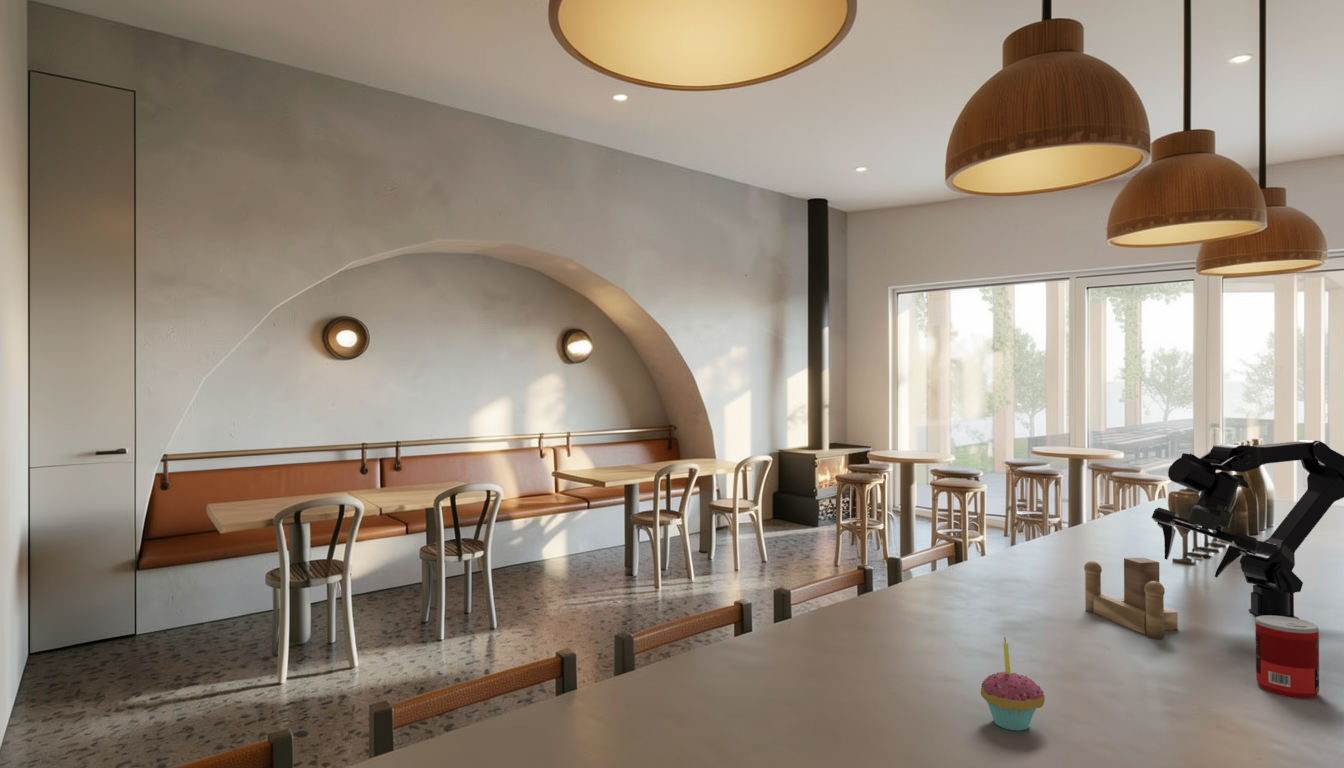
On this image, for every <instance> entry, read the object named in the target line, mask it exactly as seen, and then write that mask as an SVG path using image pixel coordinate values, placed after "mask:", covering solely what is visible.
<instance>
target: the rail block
mask: <svg viewBox="0 0 1344 768" xmlns="http://www.w3.org/2000/svg"><path fill="white" fill-rule="evenodd" d="M1150 581H1156V582H1159V583H1160V561H1156V560H1153V559H1150V558H1147V557H1124V558H1123V598H1124V603H1126V604H1129V605H1131V606H1134V607H1137V608H1139V609H1142V610H1145V611H1146V593H1145V590H1144V587H1145V585H1146V584H1147V583H1148V582H1150Z"/></svg>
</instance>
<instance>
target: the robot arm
mask: <svg viewBox="0 0 1344 768" xmlns="http://www.w3.org/2000/svg"><path fill="white" fill-rule="evenodd" d="M1293 461H1300V462H1301V466H1302V468H1303V469H1304V470H1305V471H1306V472H1308V473H1309V474H1308V475H1307V477H1306V482H1307V483H1306V484H1307V489H1306V490H1305V492H1304V493H1303V495H1302V496H1301V497H1300V499H1299V500H1298V501H1297V502H1296V504H1295V505H1294V506H1293V507H1292V509H1291V510H1290V511H1289V513H1288V514H1287V515H1286V516H1285V517H1284V519H1283V520H1282V521H1281V523H1280V524H1279V525H1278V527H1277V528H1276V529H1275V530H1274V532H1273V533H1272V534H1271V535H1270V536H1269V538H1267V539H1265V540H1258V539H1257V537H1253V536H1251V535H1248V534H1244V533H1241V532H1238V531H1236V532H1235V534H1232V533H1228V532H1225V531H1224V530H1223V529H1228V528H1230V526H1231V523H1232V520H1233V516H1234V513H1233V512H1230V510H1231V507H1232V504H1233V501H1234V499H1235V497H1236V494H1237V490H1238V488H1243V489H1244V488H1245V489H1248V488H1249V487H1250V485H1249V484H1248V482H1247V481H1246V480H1245V477H1244V475H1242V474H1236V473H1235V472H1237V473H1247V472H1250V471H1253V470H1256V469H1257V470H1258V468H1260V467H1261V466H1263V465H1267V464H1274V463H1275V464H1276V463H1283V462H1284V463H1285V462H1293ZM1168 467H1169V468H1168V470H1167V471H1168V472H1167V473H1168V478H1169V480H1170V481H1171V482H1173V483H1176V484H1178V485H1181V486H1183V487H1185V488H1187V489H1189V490H1192V491H1194V492H1197V493H1198V492H1200V494H1199V497H1198V499H1197V502H1196V504H1195V505H1193V506H1192V507H1191V510H1190V513H1189V515H1188V519H1185V518H1182V517H1179V515H1178V513H1177V512H1175V511H1171V510H1168V509H1165V508H1162V507H1156V508H1155V509H1154V510H1153V513H1152V515H1151V519H1152V520H1153V521H1154V522H1156V525H1157V526H1158V527H1159V528H1161V529H1162V533H1163V538H1164V560H1165V561H1168V560H1169V557H1170V555H1171V551H1172V548H1173V547H1172V546H1173V544H1174V540H1175V536H1176V531H1177V530H1176V529H1175V527H1176V526H1178V527H1181V528H1184V529H1187V530H1190V531H1192V532H1197V533H1199V534H1202V535H1205V536H1208V537H1211V538H1213V539H1217V540H1220V541H1223V542H1227V543H1229V544H1231V545H1228V547H1227V550H1226V551H1225V554H1224V555H1223V558H1222V559H1221V561H1220V563H1219V565H1218V567H1217V568H1216V571H1215V574H1214V578H1218V577H1219V576H1220V575H1222V573H1223V572H1224V571H1225V570H1226V569H1227V568H1228V567H1229V566H1230V564H1232V563H1233V562H1234V561H1235V560H1237V559H1238V558H1239V557H1240V556H1241V558H1240V560H1239V564H1240V569H1241V571H1242V573H1243V575H1244V577H1245V581H1246V583H1247V584H1252V591H1251V592H1250V608H1248V612H1249V613H1252V614H1254V615H1257V617H1258V616H1265V615H1272V616H1284V617H1291V618H1296V619H1300V618H1299V617H1297V616H1296V615H1295V604H1294V603H1295V601H1294V600H1295V597H1294V596H1295V595H1294V594H1295V593H1301V592H1302V589H1303V586H1304V585H1303V584H1304V582H1303V581H1302V580H1301V579H1300V577H1298V576H1297V574H1295V573H1294V571H1293V570H1294V568H1295V565H1296V564H1295V563H1296V562H1295V560H1296V559H1295V553H1296V551H1297V550H1298V548H1299V547H1300V546H1301V545H1302V543H1303V542H1304V541H1305V539H1306V538H1307V537H1308V536H1309V534H1311V532H1312V530H1313V529H1314V528H1315V527H1316V525H1317V524H1318V523H1319V522H1320V521H1321V519H1322V518H1323V517H1324V516H1325V514H1326V513H1327V511H1328V510H1329V509H1330V508H1331V506H1332V505H1333V504H1334V503H1335V502H1336V501H1339V500H1341V499H1344V455H1343V454H1342V453H1339V452H1338V451H1335V450H1334V449H1332V448H1330V447H1329V446H1328V445H1327V443H1324V442H1322V441H1320V440H1314V439H1313V440H1311V439H1299V440H1296V441H1288V442H1277V443H1276V442H1275V443H1268V444H1259V445H1258V444H1257V445H1243V444H1233V443H1232V444H1231V443H1216V444H1213V446H1212V447H1211V449H1210V450H1209V451H1208V452H1207V453H1205V454H1203V455H1202V456H1201V457H1197V456H1196V455H1194V454H1192V453H1189V452H1183V453H1182V455H1181V457H1178V458H1177V459H1175V460H1174V461H1173V463H1172V464H1170V465H1169V466H1168ZM1216 471H1218V472H1216ZM1228 472H1234V473H1235V474H1230V473H1228ZM1210 530H1211V531H1210ZM1212 531H1215V532H1212Z"/></svg>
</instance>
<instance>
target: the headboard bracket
mask: <svg viewBox="0 0 1344 768" xmlns="http://www.w3.org/2000/svg"><path fill="white" fill-rule="evenodd" d="M1083 569H1084V570H1083V571H1084V576H1085V577H1084V579H1085V580H1084V581H1085V583H1084V584H1085V585H1084V590H1085V591H1084V593H1085V597H1084V598H1085V611H1086V612H1088V611H1089V612H1088V613H1093V612H1094V613H1093V614H1095V613H1096V614H1095V615H1097V614H1098V616H1099V617H1102V618H1104V617H1105V619H1107V620H1109V619H1110V621H1111V620H1112V622H1114V623H1117V624H1118V625H1120V626H1123V625H1124V627H1125V628H1128V629H1130V628H1131V630H1133V629H1134V630H1133V631H1135V630H1136V632H1138V633H1140V632H1141V634H1142V633H1143V634H1142V635H1145V636H1146V637H1147V636H1148V637H1147V638H1149V637H1151V638H1150V639H1153V638H1157V639H1156V640H1163V638H1164V639H1165V631H1173V630H1175V629H1177V630H1178V627H1179V626H1178V624H1179V620H1178V612H1177V611H1174V610H1172V609H1171V608H1170V609H1164V607H1165V604H1164V602H1165V601H1164V597H1165V596H1164V595H1165V591H1166V590H1165V587H1164V585H1163V584H1162V583H1161V582H1160V581H1159V582H1156V581H1150V582H1148V583H1147V584H1146V585H1145V587H1144V590H1145V593H1146V611H1145V610H1142V609H1139V608H1137V607H1134V606H1131V605H1129V604H1126V603H1124V597H1123V598H1121V597H1120V598H1113V597H1109V596H1108V595H1105V594H1102V590H1101V589H1102V584H1101V583H1102V571H1103V570H1102V569H1103V568H1102V566H1101V565H1100V563H1099V562H1098V561H1093V560H1089V561H1087V562H1086V563H1085V564H1084V567H1083ZM1177 630H1176V631H1177Z"/></svg>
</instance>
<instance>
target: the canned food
mask: <svg viewBox="0 0 1344 768" xmlns="http://www.w3.org/2000/svg"><path fill="white" fill-rule="evenodd" d="M1254 630H1255V631H1254V632H1255V633H1254V634H1255V677H1256V678H1255V679H1256V682H1257V685H1258V686H1259V687H1260V688H1261V689H1263V691H1267V692H1269V693H1271V694H1274V695H1278V696H1282V697H1287V698H1294V699H1304V700H1305V699H1308V700H1309V699H1314V698H1316V697H1318V694H1319V692H1320V635H1319V634H1320V633H1319V632H1320V631H1319V626H1318V625H1317V624H1315V623H1314V622H1310V621H1308V620H1305V619H1300V618H1299V619H1296V618H1291V617H1284V616H1272V615H1265V616H1258V615H1257V616H1256V617H1255V629H1254Z"/></svg>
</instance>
